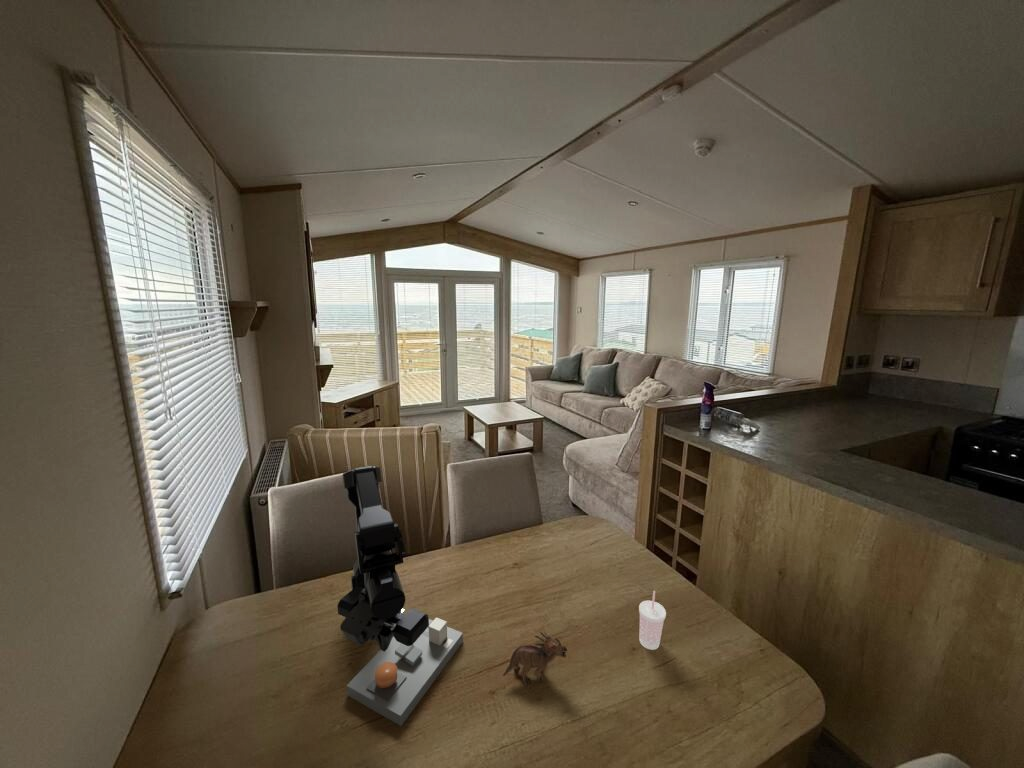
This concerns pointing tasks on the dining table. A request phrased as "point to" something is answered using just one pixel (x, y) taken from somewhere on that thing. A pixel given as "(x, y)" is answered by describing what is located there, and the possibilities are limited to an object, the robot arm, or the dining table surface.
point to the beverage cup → (651, 623)
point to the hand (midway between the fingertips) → (384, 649)
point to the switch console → (403, 676)
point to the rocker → (408, 653)
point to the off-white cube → (437, 631)
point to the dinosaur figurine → (536, 656)
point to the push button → (386, 675)
